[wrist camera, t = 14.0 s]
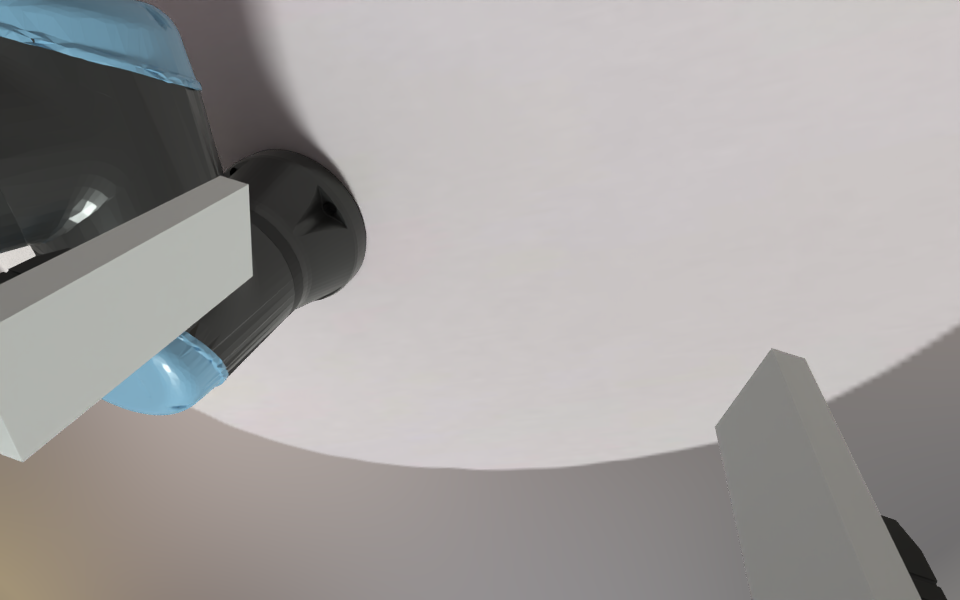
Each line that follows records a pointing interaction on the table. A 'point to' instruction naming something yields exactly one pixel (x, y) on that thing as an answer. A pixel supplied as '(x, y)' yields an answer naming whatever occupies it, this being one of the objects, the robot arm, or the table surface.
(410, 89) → the table surface
